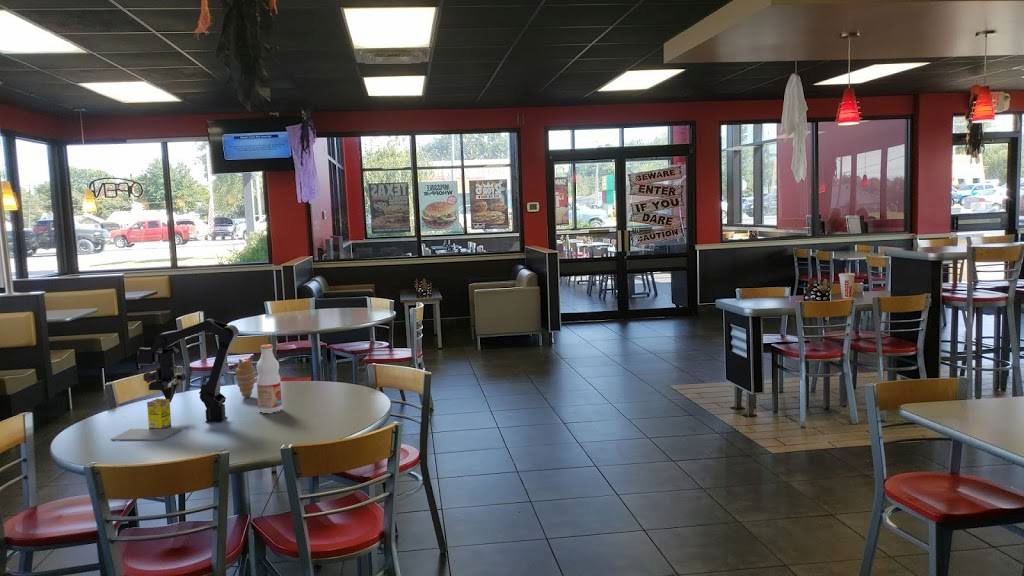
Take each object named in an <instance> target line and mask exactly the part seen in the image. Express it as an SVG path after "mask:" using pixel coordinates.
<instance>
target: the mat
mask: <svg viewBox="0 0 1024 576" xmlns="http://www.w3.org/2000/svg"><path fill="white" fill-rule="evenodd" d="M178 431H179V432H180V431H182V430H181V428H165V429H149V428H130V429H128V430H125V431H124V432H122V433H120V434H118V435H116V436H114V437H112V438H110V441H111V440H131V441H132V442H133V441H136V442H137V441H142V442H143V441H147V442H148V441H149V442H150V441H154V442H155V441H158V442H159V441H162V442H163V441H165V440H166V439H168V438H170V437H172V436H174V435H175V434H177V433H178ZM173 434H174V435H173Z"/></svg>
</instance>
